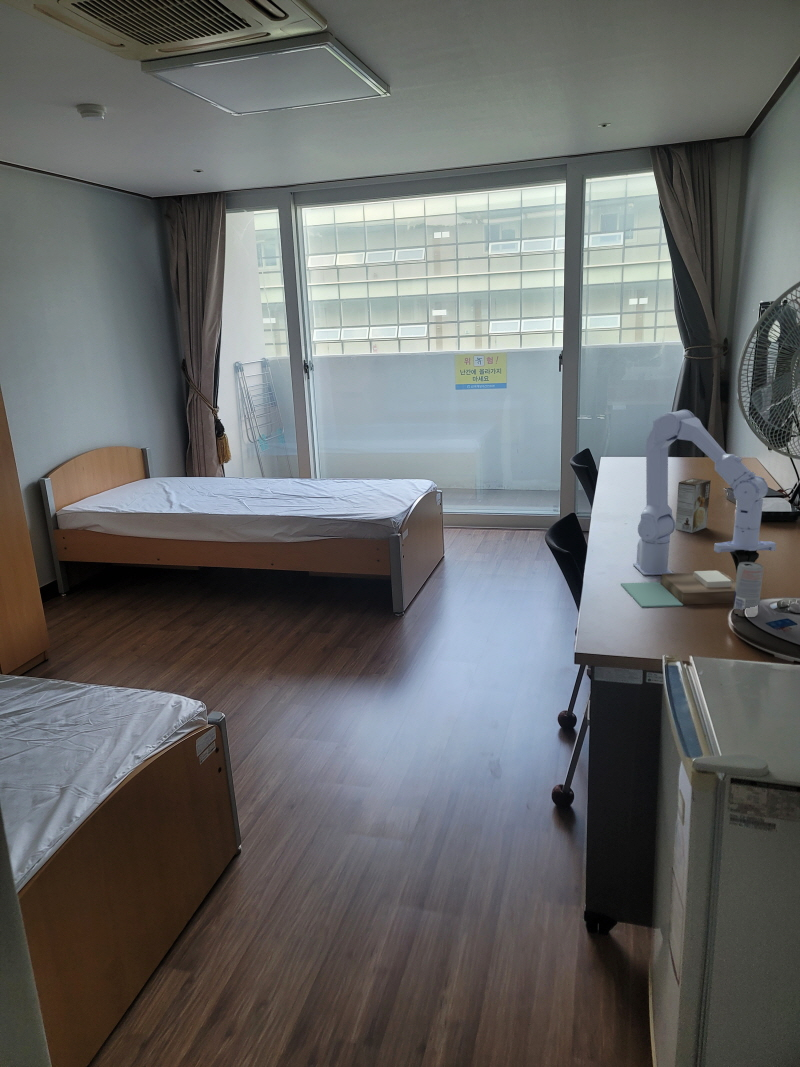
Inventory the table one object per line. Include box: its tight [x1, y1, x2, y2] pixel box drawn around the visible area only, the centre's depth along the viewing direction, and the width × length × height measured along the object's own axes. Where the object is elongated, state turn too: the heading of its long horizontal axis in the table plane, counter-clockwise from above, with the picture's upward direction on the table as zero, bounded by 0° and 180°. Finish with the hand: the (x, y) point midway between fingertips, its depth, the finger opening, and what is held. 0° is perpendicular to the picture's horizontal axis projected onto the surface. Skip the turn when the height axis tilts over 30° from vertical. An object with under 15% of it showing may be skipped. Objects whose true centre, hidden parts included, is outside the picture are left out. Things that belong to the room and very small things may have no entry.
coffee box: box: [675, 477, 712, 534], centre depth 237 cm, size 9×6×16 cm
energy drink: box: [732, 562, 764, 610], centre depth 168 cm, size 5×5×12 cm
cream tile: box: [693, 570, 731, 588], centre depth 182 cm, size 8×6×2 cm
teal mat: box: [620, 581, 684, 608], centre depth 182 cm, size 16×10×1 cm, turn 1°
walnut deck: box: [660, 571, 736, 605], centre depth 182 cm, size 14×16×3 cm
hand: (741, 578), depth 182 cm, fingers closed
